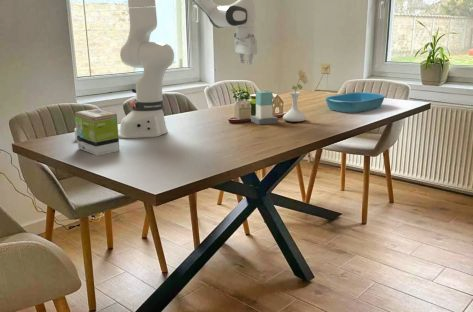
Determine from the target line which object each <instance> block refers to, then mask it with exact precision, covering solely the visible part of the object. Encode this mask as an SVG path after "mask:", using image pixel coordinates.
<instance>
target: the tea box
mask: <svg viewBox="0 0 473 312" xmlns="http://www.w3.org/2000/svg"><path fill="white" fill-rule="evenodd" d="M117 116H118V113H114V112H110V111H106V110H103V109H100V108H93V109H87V110H86V109H85V110H81V111H75V112H74V121H75V128H76V133H77V149H78V150H83V151H85V152H87V153H89V154H91V155H93V156H94V155H95V156H96V157H98V156H103V155H107V154H112V153H115V152H119V151H121V150H120V138H119V136H118V130H119V127H118V117H117Z"/></svg>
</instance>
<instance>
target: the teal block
mask: <svg viewBox="0 0 473 312" xmlns="http://www.w3.org/2000/svg"><path fill="white" fill-rule="evenodd" d="M256 104H257V105H260V106H265V105H273V91H269V90H261V91H259V90H258V91H255V105H256Z"/></svg>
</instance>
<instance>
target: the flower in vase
mask: <svg viewBox="0 0 473 312" xmlns="http://www.w3.org/2000/svg"><path fill="white" fill-rule="evenodd" d="M297 74H298V77H299V79H298V82H297V85H296V86H295V85H292V87H291V89H292V90H294V91H292V92H291V91H290V92H289V95H290V97H291V99H292V100H291V101H292V103H291V104H292V106H291V108H290V109H289V110H288V111H287V112H286V113H284V115H283V116H282V119H283V120H284V121H286V122H292V123H294V122H295V123H297V122H304V121H305V120H307V116H306V114H304V112H302V111H301V110H300V109H299V107H298V99H299V96H300V94H301V92H300V91H297V90H298V89H299V90H303V85H302V84H299V83H300V81H301V82H302V83H303V84H308V82H309V81H308V79H309V77H308V76H307V75H306V72H305V71H303V68H298V70H297Z"/></svg>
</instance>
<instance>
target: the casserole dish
mask: <svg viewBox="0 0 473 312" xmlns="http://www.w3.org/2000/svg"><path fill="white" fill-rule="evenodd" d="M385 97H386V95H385V94H381V93H378V92H377V93H376V92H367V91H366V92H363V91H359V92H358V91H356V92H355V91H353V92H346V93H342V94H341V93H340V94H336V95H331V96H326V97H325V101H326V106H327V107H328V109H329V110H330V109H331V111H333V110H336V111H335V112H338V111H342V112H341V113H345V112H350V113H349V114H354V113H353V112H357V113H362V112H361V111H363V112H366V111H365V110H367V111H371V110H370V109H372V110H375V109H374V108H376V109H378V108H380V107H381V106H382V104H383V102H384V100H385Z"/></svg>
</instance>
